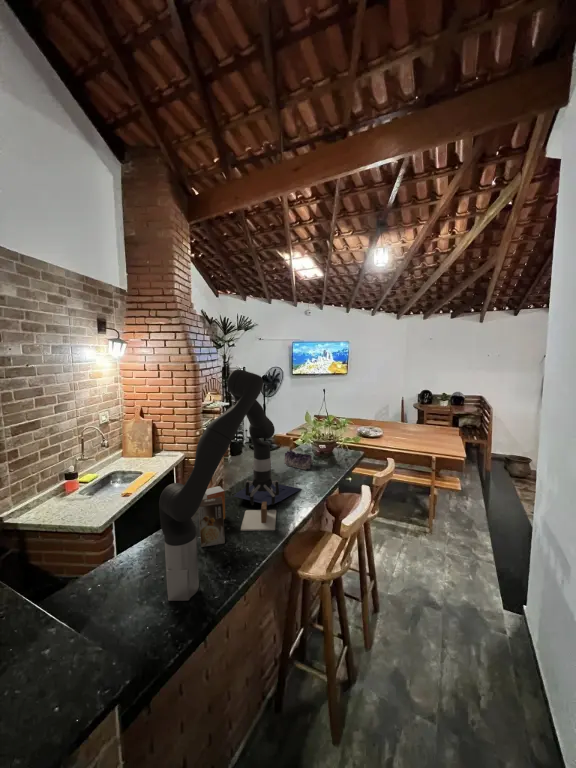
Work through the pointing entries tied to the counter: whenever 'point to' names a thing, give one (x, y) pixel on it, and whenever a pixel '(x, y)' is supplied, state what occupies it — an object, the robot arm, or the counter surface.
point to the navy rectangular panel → (268, 494)
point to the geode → (298, 460)
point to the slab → (263, 512)
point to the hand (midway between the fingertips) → (262, 504)
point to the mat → (258, 520)
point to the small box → (216, 495)
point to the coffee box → (211, 522)
